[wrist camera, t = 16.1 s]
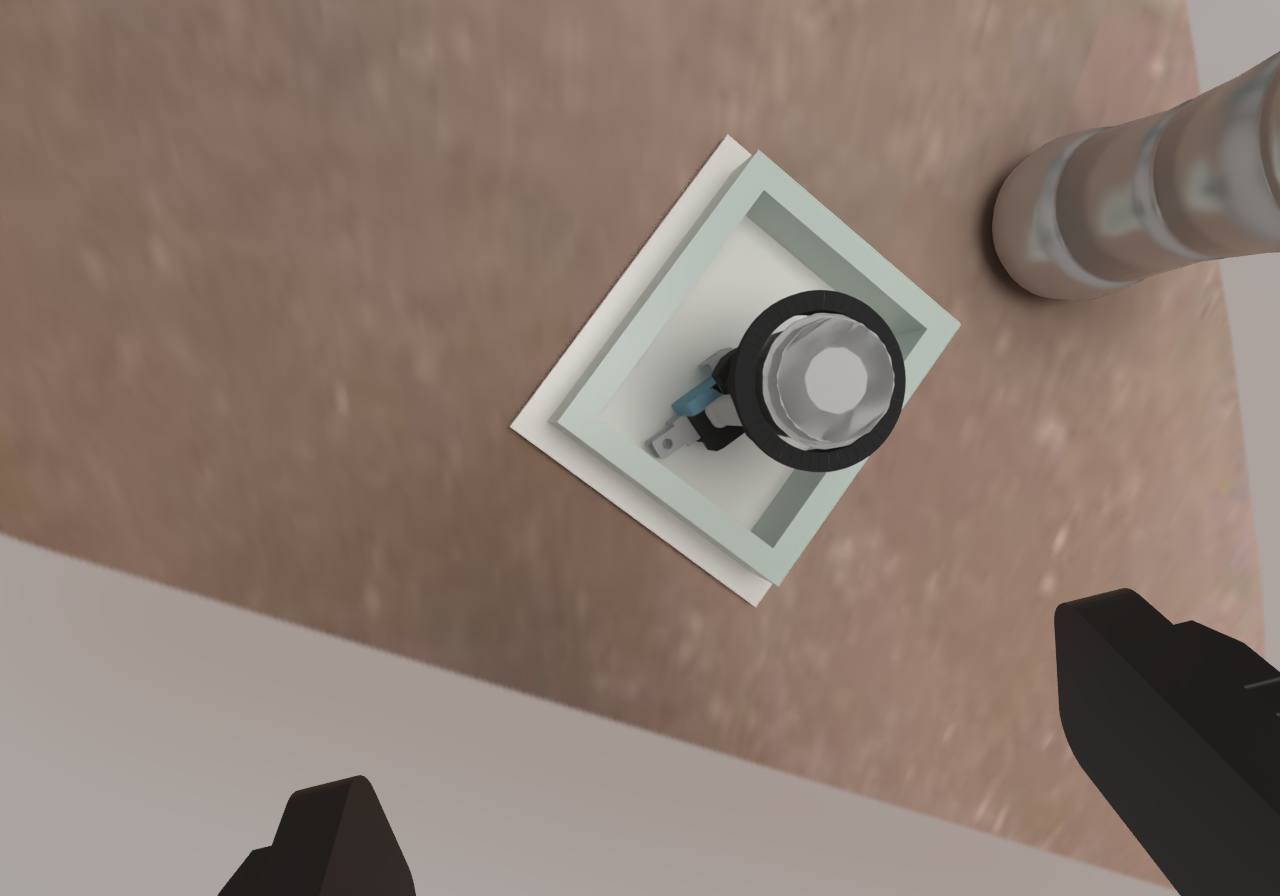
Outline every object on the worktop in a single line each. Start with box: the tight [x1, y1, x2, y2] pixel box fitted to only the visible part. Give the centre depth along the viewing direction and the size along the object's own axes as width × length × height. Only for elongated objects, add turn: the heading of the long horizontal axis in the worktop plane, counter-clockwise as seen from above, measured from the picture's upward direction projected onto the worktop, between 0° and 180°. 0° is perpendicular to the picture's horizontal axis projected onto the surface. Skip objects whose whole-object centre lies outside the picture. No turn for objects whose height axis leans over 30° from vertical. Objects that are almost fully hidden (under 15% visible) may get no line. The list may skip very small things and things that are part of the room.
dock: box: [509, 135, 961, 607], centre depth 34 cm, size 12×14×4 cm
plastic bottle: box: [992, 51, 1280, 301], centre depth 29 cm, size 6×7×20 cm
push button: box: [646, 290, 906, 472], centre depth 30 cm, size 7×5×10 cm
